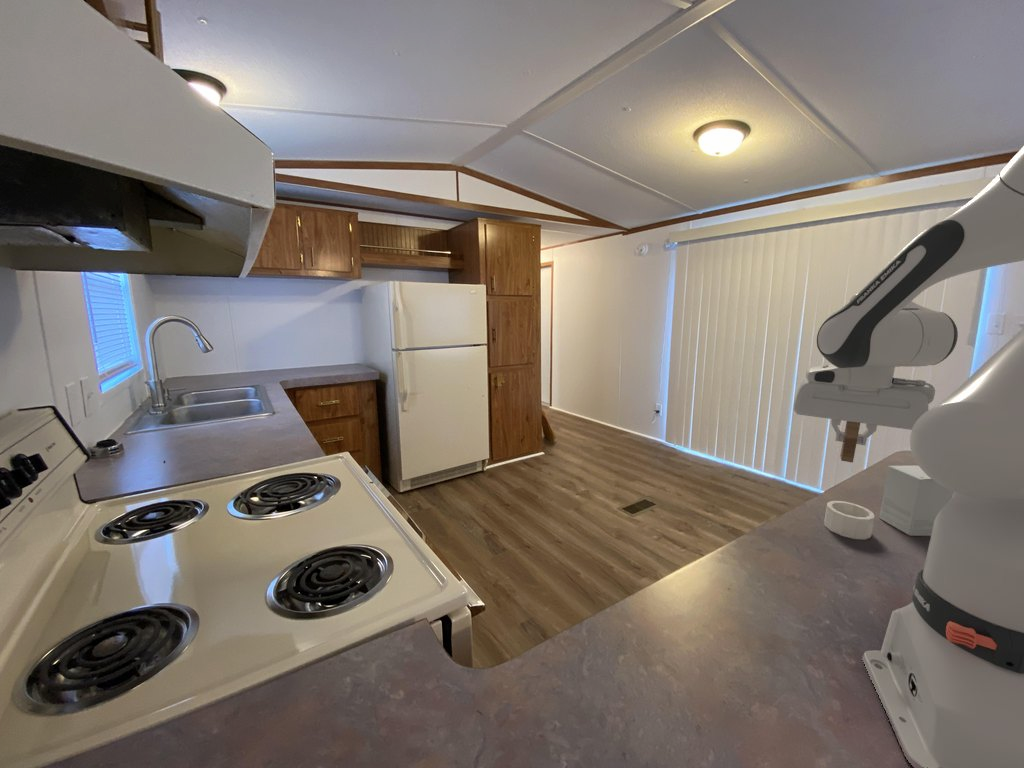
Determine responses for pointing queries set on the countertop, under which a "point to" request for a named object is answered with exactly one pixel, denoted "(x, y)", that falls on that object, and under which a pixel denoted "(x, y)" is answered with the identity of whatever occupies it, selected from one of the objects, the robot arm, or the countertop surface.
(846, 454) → the brown rectangular block
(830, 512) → the faceted white cup
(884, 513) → the supplement box
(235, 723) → the countertop surface
